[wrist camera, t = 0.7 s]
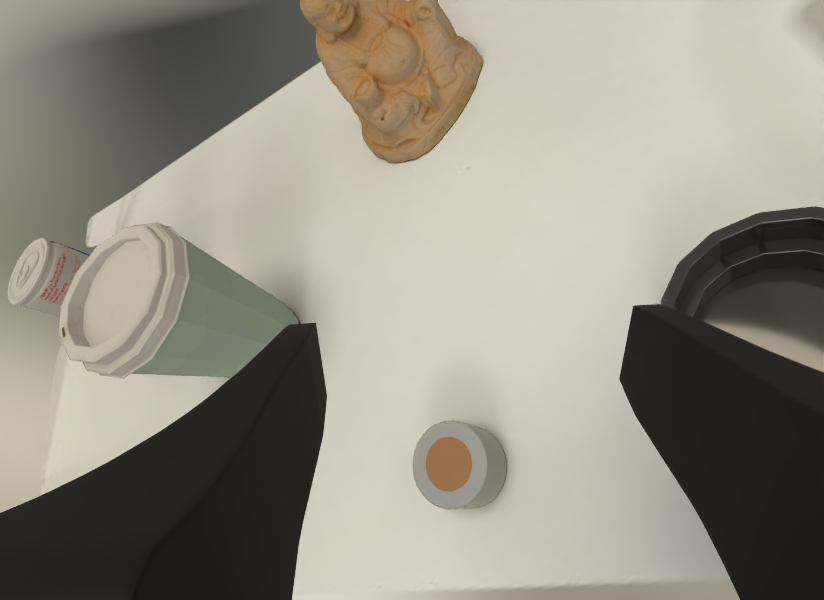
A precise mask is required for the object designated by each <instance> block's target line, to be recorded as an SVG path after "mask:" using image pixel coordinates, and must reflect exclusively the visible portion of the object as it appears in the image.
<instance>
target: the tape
mask: <svg viewBox="0 0 824 600" xmlns="http://www.w3.org/2000/svg"><path fill="white" fill-rule="evenodd" d="M506 471H507V465H506V458H505V454H504V451H503V449H502V447H501V445H500V443H499V442H498V440H497V439H496V438H495V437H494V436H493V435H492V434H491V433H489V432H488V431H486V430H484V429H482V428H479V427H476V426H472V425H468V424H465V423H461V422H456V421H444V422H440V423H438V424H436V425H434V426H432V427H431V428H429V429H428V430H427V431H426V432H425V433H424V434H423V435H422V437H421V438H420V440H419V442H418V444H417V446H416V448H415V452H414V456H413V473H414V478H415V481H416V484H417V486H418V488H419V490H420V492H421V493H422V494H423V496H424V497H425V498H426V499H427V500H428V501H429V502H431V503H432V504H434V505H436V506H438V507H440V508H444V509H466V508H478V507H482V506H484V505H486V504H488V503H490V502H491V501H492V500H493V499H494V498H495V497H496V496H497V495H498V494H499V492H500V491H501V489H502V487H503V485H504V482H505V478H506Z"/></svg>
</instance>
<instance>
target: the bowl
mask: <svg viewBox="0 0 824 600" xmlns="http://www.w3.org/2000/svg"><path fill="white" fill-rule="evenodd" d="M661 305H664V306H667V307H670V308H673V309H676V310H678V311H681V312H683V313H685V314H688V315H690V316H692V317H695V318H697V319H699V320H701V321H704V322H706V323H708V324H710V325H712V326H715V327H717V328H719V329H721V330H724V331H726V332H728V333H730V334H732V335H735V336H737V337H739V338H741V339H744V340H746V341H748V342H750V343H753V344H755V345H757V346H759V347H762V348H764V349H766V350H769V351H771V352H774V353H776V354H778V355H781V356H783V357H786V358H788V359H791V360H793V361H796V362H798V363H801V364H803V365H806V366H808V367H811V368H813V369H816V370H819V371H822V372H824V208H821V207H806V208H797V209H788V210H779V211H770V212H761V213H759V214H758V213H757V214H754V215H752V216H750V217H747V218H745V219H743V220H740V221H738V222H736V223H733V224H731V225H729V226H726V227H724V228H722V229H719V230H717V231H715V232H713V233H711V234H710V235H709V236H708V237H706V238H705V239H704V240H703V241H702V242H701V243H700V244H699V245H698V246H697V247H695V248H694V249H693V250H692V251H691V252H690V253H689V254H688V255H687V256H686V257H685V258H683V259H682V260H681V261H680V262H679V264H678V265H677V267H676V269H675V271H674V273H673V276H672V278H671V280H670V282H669V284H668V286H667V289H666V291H665V293H664V295H663V297H662V301H661Z"/></svg>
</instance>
